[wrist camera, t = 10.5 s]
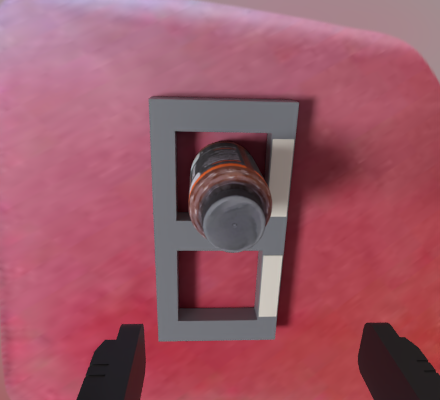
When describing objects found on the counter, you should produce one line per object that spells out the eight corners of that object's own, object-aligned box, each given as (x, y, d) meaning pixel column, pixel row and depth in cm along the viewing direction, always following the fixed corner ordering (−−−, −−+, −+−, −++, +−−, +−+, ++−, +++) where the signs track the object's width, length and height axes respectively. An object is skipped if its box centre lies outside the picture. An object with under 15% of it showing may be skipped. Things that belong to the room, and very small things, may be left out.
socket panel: (293, 99, 31) (299, 102, 29) (271, 326, 40) (274, 340, 38) (151, 96, 30) (148, 98, 28) (160, 327, 39) (158, 342, 37)
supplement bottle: (176, 165, 32) (166, 215, 22) (230, 125, 31) (246, 159, 21) (215, 213, 34) (223, 282, 24) (267, 178, 33) (299, 233, 23)
